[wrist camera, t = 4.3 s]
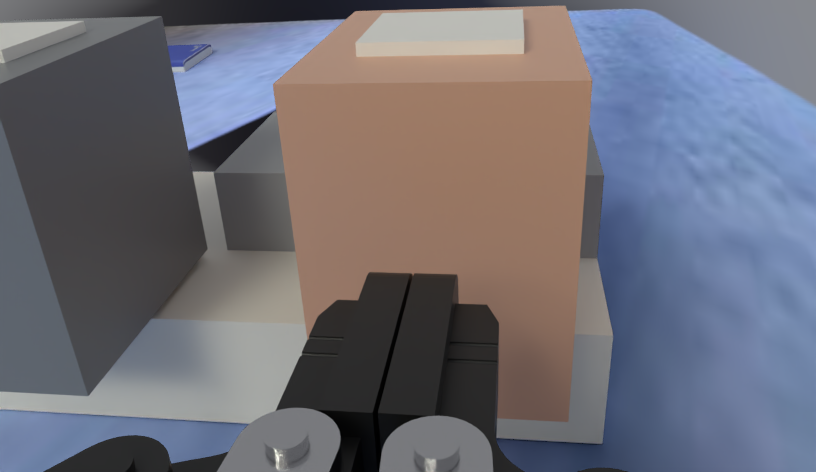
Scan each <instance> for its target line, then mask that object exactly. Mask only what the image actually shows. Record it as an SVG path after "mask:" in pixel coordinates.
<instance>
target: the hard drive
mask: <svg viewBox="0 0 816 472" xmlns="http://www.w3.org/2000/svg"><path fill="white" fill-rule="evenodd" d="M168 51H169V56H170V61H171V66H172V71H173V72H186V71H187V70H188V69H190V68H191V67H193V66H194V65H196V64H197V63H198V62H200V61H201V60H203V59H204V58H206V57H207V56H208V55H210V54H211V53H212V48H211V45H210V44H200V45H175V46H168Z"/></svg>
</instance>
